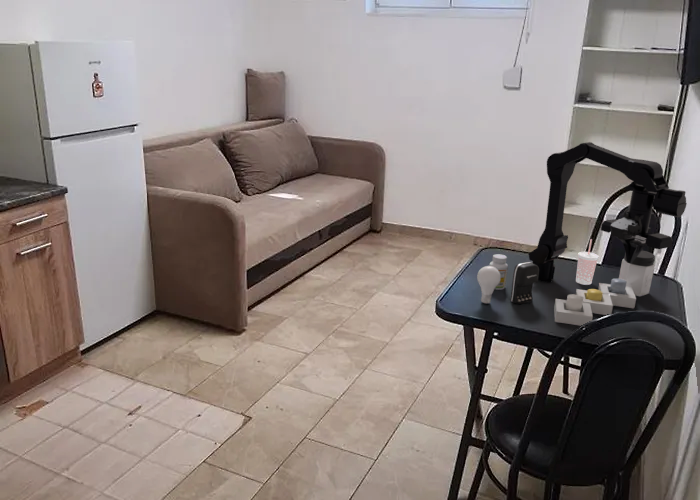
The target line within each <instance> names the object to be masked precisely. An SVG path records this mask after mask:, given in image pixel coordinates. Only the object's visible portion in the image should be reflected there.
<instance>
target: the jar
mask: <svg viewBox="0 0 700 500" xmlns="http://www.w3.org/2000/svg"><path fill="white" fill-rule="evenodd" d="M655 259H656V255H655V254H654V253H652V252H649V251H647V250H644V249H643V250H642V251H641V252H640V253H639V255H638V256H637V257H636V258H635V260H634V261H633V262H632V263H630V264H629V263H627V259H626V253H625V252H624V258H623V259H622V261H621V265H620V270H619V275H618V279H622V280H625V281H626V282H627V283H626V287H632V289H633V292H634V294H635V297H643V296H645V295H649V294H650V290H651V285H652V280H653V276H654V271H655V266H656V264H655Z"/></svg>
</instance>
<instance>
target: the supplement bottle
mask: <svg viewBox="0 0 700 500" xmlns="http://www.w3.org/2000/svg"><path fill="white" fill-rule="evenodd" d="M507 259H508V257H507V256H506V255H504V254H501V253H500V254H499V253H498V254H493V255H492V261H490V263H489V265H488V266H493V267H495V268H496V269H498V271H499V272H500V275H501V280H500V282H499V284H498V285H497V286H496V288H495V289H494V291H495V290H497V291H498V290H504V289H505V288H506V282H507V277H508V275H507V274H508V268H509V265H508V263H506V262H507Z"/></svg>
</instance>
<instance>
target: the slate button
mask: <svg viewBox="0 0 700 500" xmlns="http://www.w3.org/2000/svg"><path fill="white" fill-rule="evenodd" d="M610 281H611V282H610V284H611V286H610V291H609V292H610V293H617V294H624V293H625V288H626V283H627V282H626V281H625V280H622V279H619V278H612V279H611V280H610Z"/></svg>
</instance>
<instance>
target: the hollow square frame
mask: <svg viewBox="0 0 700 500" xmlns="http://www.w3.org/2000/svg"><path fill="white" fill-rule="evenodd" d="M587 291H588V289H587V290H585V289H578V288H576V289H575V293H574V294H575V295H579V296H582V297H583V303H589V304H590V306H591V311H592V314H598V315H603V316H608V315H607V314H611V315H612V313H613V308H614V305H613V304H612V301H611V297H610V295H606V294H605V293H604V294H602V299H601V301H595V300H588V299H586V296H587Z"/></svg>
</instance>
